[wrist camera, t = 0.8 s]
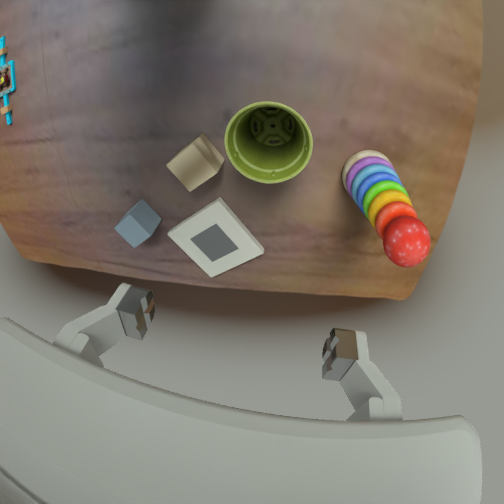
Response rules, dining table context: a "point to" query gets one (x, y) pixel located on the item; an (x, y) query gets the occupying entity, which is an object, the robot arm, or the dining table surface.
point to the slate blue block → (138, 223)
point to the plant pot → (268, 142)
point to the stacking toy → (386, 207)
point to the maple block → (196, 163)
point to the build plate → (216, 238)
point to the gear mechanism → (6, 80)
